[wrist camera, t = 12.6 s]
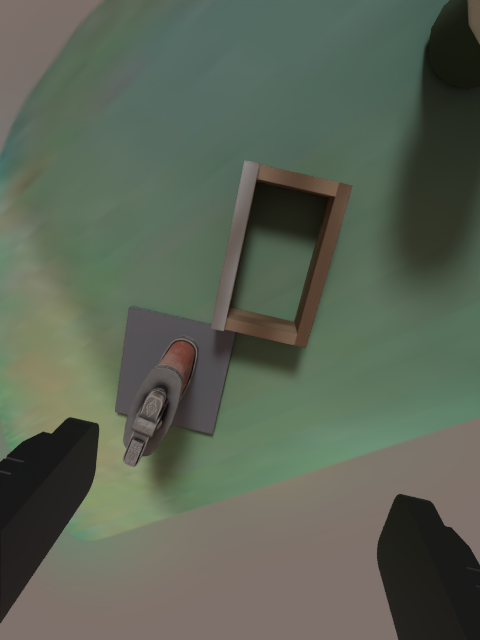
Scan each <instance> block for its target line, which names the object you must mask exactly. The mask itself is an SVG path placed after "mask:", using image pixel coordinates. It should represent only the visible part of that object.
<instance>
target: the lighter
mask: <svg viewBox="0 0 480 640" xmlns="http://www.w3.org/2000/svg"><path fill="white" fill-rule="evenodd" d="M198 352H199V347H198V345H197V343H196V342H195V340H194V339H192V338H190V337H188V336H178V337H176V338H175V339H174V340H173V341H172V342H171V344H170V345H169V347H168V348H167V350H166V351H165V353H164V354H163V356H162V358H161V360H160V362H159V364H158V366H155V367H154V368H153V369H152V370H151V372H150V373H149V374H148V376H147V377H146V379H145V380H144V382H143V383H142V385H141V386H140V388H139V390H138V392H137V394H136V396H135V398H134V400H133V402H132V404H131V407H130V410H129V414H128V417H127V420H126V425H125V431H124V438H123V441H124V445H125V447H126V451H125V454H124V456H123V462H124V463H125V464H126V465H128V466H131V467H135V466H137V464H138V463H139V461H140V459H141V457H142V456H148V455H151V454H152V453H153V452H154V451H155V449H156V448H157V447H158V445H159V444H160V443H161V441H162V440H163V438H164V437H165V435H166V433H167V431H168V429H169V427H170V425H171V423H172V421H173V419H174V417H175V414H176V411H177V408H178V405H179V402H180V400H181V398H182V397H183V395H184V393H185V391H186V389H187V387H188V385H189V383H190V381H191V378H192V375H193V372H194V369H195V367H196V362H197V357H198Z"/></svg>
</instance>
